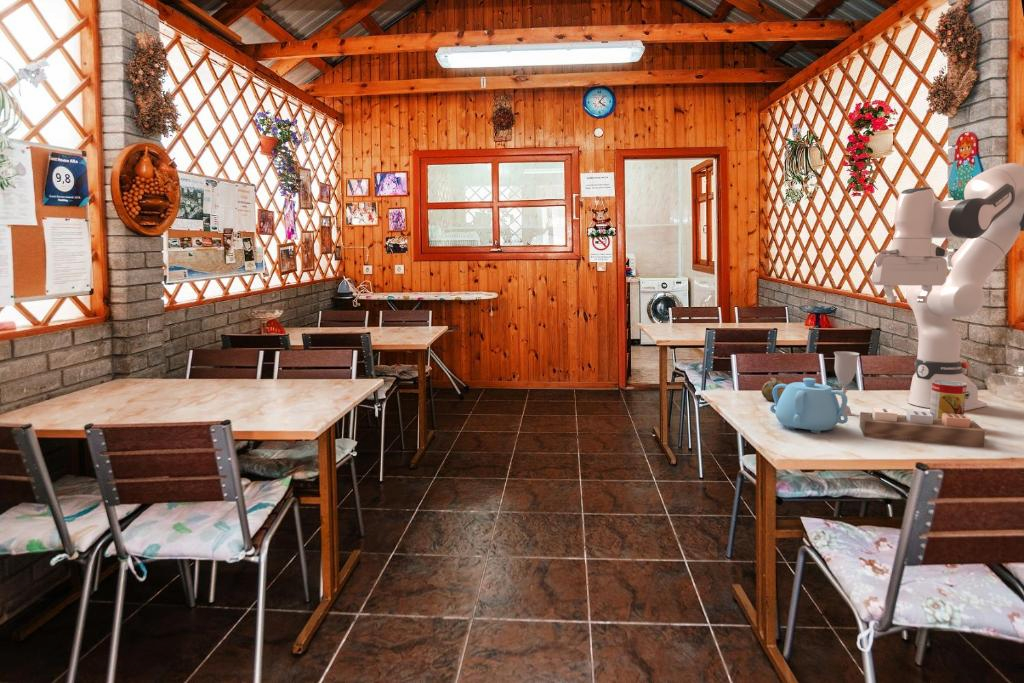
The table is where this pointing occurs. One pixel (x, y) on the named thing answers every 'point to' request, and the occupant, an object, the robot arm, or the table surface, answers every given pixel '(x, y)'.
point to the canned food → (947, 397)
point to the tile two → (919, 417)
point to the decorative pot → (809, 406)
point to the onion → (769, 387)
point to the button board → (922, 431)
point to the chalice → (845, 371)
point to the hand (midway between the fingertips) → (906, 302)
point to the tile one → (884, 414)
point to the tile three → (955, 420)
